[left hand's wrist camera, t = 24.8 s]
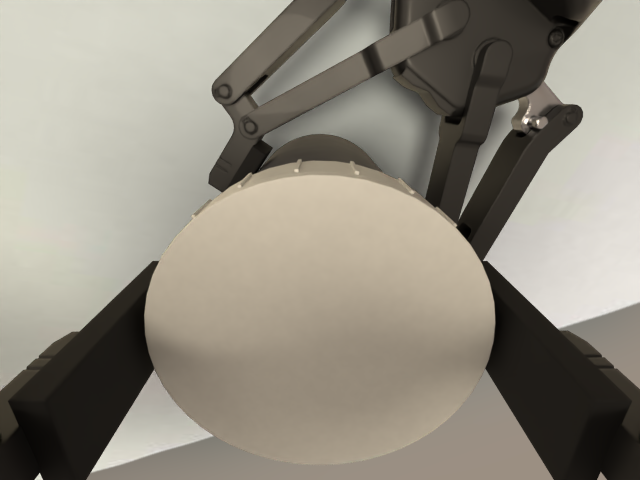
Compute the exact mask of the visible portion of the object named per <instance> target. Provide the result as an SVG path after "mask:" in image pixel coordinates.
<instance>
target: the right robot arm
mask: <svg viewBox="0 0 640 480" xmlns="http://www.w3.org/2000/svg"><path fill="white" fill-rule="evenodd" d="M346 1H347V0H293V1H292V2H291V4H290V5H289V6H288V7H287V8H286V9H285V10H284V11H283V12H282V13H281V14H280V15H279V16H278V17H277V18H276V19H275V20H274V21H273V22H272V23H271V24H270V25H269V26H268V27H267V28H266V29H265V30H264V31H263V32H262V33H261V34H260V35H259V36H258V37H257V38H256V39H255V40H254V41H253V42H252V43H251V44H250V45H249V46H248V48H247V49H246V50H245V51H244V52H243V53H242V54H241V55H240V56H239V57H238V58H237V59H236V60H235V61H234V62H233V63H232V64H231V65H230V66H229V67H228V68H227V69H226V70H225V71H224V72H223V73H222V74H221V75H220V76H219V77H218V78H217V79H216V80H215V82H214V83H213V85H212V94H213V97H214V99H215V100H216V101H217V102H218V103H220V104H222V106H223V107H224V108H225V110H226V111H227V112H228V114H229V115H230V117H231V118H232V120H233V123H234V132H233V134H232V136H231V138H230V140H229V142H228V143H227V145H226V147H225V148H224V150H223V152H222V153H221V155H220V157H219V159H218V160H217V162H216V164H215V165H214V167H213V169H212V170H211V172H210V175H209V183H208V184H210V185H212V186H213V187H215V188H216V189H218V190H219V191H221V192H222V193H223V192H224V191H225V190H227V189H228V188H229V187H231V186H232V185H234V184H236V183H238V182H240V181H241V180H243V179H244V178H245V177H246V176H247V175H248V174H249V173H252V175H253V174H256V173H257V172H258V170H259V169H260V167H261V166H262V164H263V162H264V161H265V159H266V158H267V156H268V155H269V153H270V151H271V150H272V147H271V146H269V145H268V144H267V143H265V142H264V141H262V138H263V136H264V135H265V134H266V133H268V132H270V131H272V130H274V129H276V128H278V127H280V126H281V125H283V124H285V123H287V122H289V121H291V120H293V119H295V118H296V117H298V116H300V115H302V114H304V113H306V112H308V111H310V110H311V109H313V108H315V107H317V106H319V105H321V104H323V103H325V102H327V101H328V100H330V99H332V98H334V97H336V96H338V95H340V94H342V93H343V92H345V91H347V90H349V89H351V88H353V87H355V86H357V85H358V84H360V83H362V82H364V81H366V80H368V79H370V78H372V77H374V76H375V75H377V74H379V73H381V72H383V71H385V70H387V69H389V68H391V71H392V73H393V75H394V77H393V79H395V80H396V81H397V82H398V83H400V84H401V85H402V86H403V87H405V88H407V89H410V90H412V91H415V92H417V93H418V94H419V95H420V97H421V98H422V100H423V101H424V103H425V104H426V106H427V107H429V108H430V109H431V110H432V111H434V112H435V113H436V114H437V115H442V119H441V123H440V127H439V137H440V138H439V144H438V148H437V152H436V156H435V161H434V165H433V169H432V173H431V177H430V181H429V186H428V190H427V194H426V198H425V199H426V200H427V201H428V202H429V203H430V204H431V205H432V206H433V207H435V208H436V207H438V208H439V209H440V210H441V211H442V212H444V213H445V214H446V215H447V216H448V217H449V218H450V219H451V220H452V221H453V222H455V223H456V224H457V226H456V228H457V230H458V231H459V232H460V233H461V234H462V235H463V237H464V238H465V239H466V240H467V241H468V242H469V244H470V245H471V246H472V248H473V250H474V251H475V253H476V255H477V256H478V258H479V259H480V261H483V260H484V258H485V256H486V255H487V253H488V251H489V250H490V248H491V246H492V245H493V243H494V242H495V240H496V238H497V237H498V235H499V233H500V232H501V230H502V228H503V227H504V225H505V223H506V222H507V220H508V219H509V217H510V215H511V214H512V212H513V210H514V209H515V207H516V205H517V204H518V202H519V201H520V199H521V197H522V196H523V194H524V192H525V191H526V189H527V187H528V186H529V184H530V182H531V181H532V179H533V178H534V176H535V174H536V173H537V171H538V169H539V168H540V166H541V164H542V163H543V161H544V160H545V158H546V156H547V155H548V153H549V152H550V151H551V150H552V149H553V148H555V147H556V146H557V145H558V144H559V143H560V142H561V141H562V140H563V139H564V138H565V137H566V136H568V135H569V134H570V133H571V132H572V131H573V130H574V129H575V128H576V127H577V126H578V125H579V124H580V122H581V120H582V118H583V111H582V109H581V107H579V106H578V105H573V104H563V103H561V101H560V100H559V99H558V98H557V97H556V95H555V94H554V93H553V92H552V91H551V89H550V88H549V87H548V86H547V85H546V84H545V82H544V80H545V78H546V75H547V72H548V69H549V66H550V63H551V61H552V59H553V57H554V55H555V53H556V52H557V50H558V49H559V48H560V47H561V46H562V45H563V44H564V43H565V42H566V41H567V40H568V39H569V38H570V37H571V36H572V35H573V33H574V32H575V31H576V30H577V29H578V28H579V27H580V26H581V25H582V24H583V23H584V21H585V20H586V19H587V18H588V17H589V16H590V14H591V13H592V12H593V11H594V10H595V8H596V7H597V6H598V5H599V4H600V3H601V1H602V0H391V17H390V34H389V35H388V36H386V37H384V38H382V39H380V40H379V41H377V42H375V43H373V44H371V45H370V46H368V47H367V48H365V49H363V50H362V51H360V52H358V53H356V54H355V55H353V56H351V57H349V58H347V59H345V60H344V61H342V62H340V63H338V64H336V65H335V66H333V67H331V68H329V69H327V70H325V71H324V72H322V73H320V74H318V75H316V76H314V77H313V78H311V79H309V80H307V81H305V82H304V83H302V84H300V85H298V86H296V87H294V88H293V89H291V90H289V91H287V92H285V93H284V94H282V95H280V96H278V97H276V98H274V99H273V100H271V101H269V102H267V103H265V104H263V105H262V106H260V107H258V105H257V104H256V103H255V101H254V100H253V98H252V97H251V95H252V94H253V93H254V92H255V91H256V90H257V89H258V88H259V87H260V86H261V85H262V84H263V83H264V82H265V81H266V80H267V79H268V78H269V77H270V76H271V75H272V74H273V73H274V72H275V71H276V70H278V69H279V68H280V67H281V66H282V65H283V64H284V63H285V62H286V61H287V60H288V59H289V58H290V57H291V56H292V55H293V54H294V53H295V52H296V51H297V50H298V49H299V48H300V47H301V46H302V45H303V44H304V43H305V42H306V41H307V40H308V39H309V38H310V37H311V36H312V35H313V34H315V33H316V32H317V31H318V30H319V29H320V28H321V27H322V26H323V25H324V24H325V23H326V22H327V21H328V20H329V19H330V18H331V17H332V16H333V15H334V14H335V13H336V12H337V11H338V10H339V9H340V8H341V7H342V6H343V4H344V3H345V2H346ZM517 99H518V101H519V109H518V111H517V113H516V115H515V116H514V117H513V118H512V120H511V123H512V126H513V129H512V130H511V131H510V132H509V134H508V135H507V136H506V138H505V139H504V140H503V142H502V144H501V145H500V147H499V148H498V150H497V152H496V154H495V156H494V157H493V159H492V161H491V163H490V165H489V167H488V168H487V170H486V172H485V174H484V176H483V177H482V179H481V181H480V183H479V185H478V186H477V188H476V190H475V192H474V194H473V195H472V197H471V199H470V201H469V203H468V204H467V206H466V208H465V210H464V212H463V213H462V215H461V217H460V219H459V216H460V213H461V209H462V206H463V202H464V199H465V195H466V192H467V188H468V185H469V181H470V178H471V174H472V171H473V167H474V163H475V160H476V156H477V153H478V150H479V147H480V146H481V145H482V144H483V143H484V141H485V140H486V138H487V135H488V132H489V128H490V125H491V121H492V118H493V114H494V111H495V107H497V106H499V105H502V104H505V103H508V102H511V101H514V100H517ZM458 220H459V221H458Z"/></svg>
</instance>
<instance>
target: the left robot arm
mask: <svg viewBox="0 0 640 480" xmlns="http://www.w3.org/2000/svg"><path fill="white" fill-rule="evenodd" d="M158 263H159V261H152V262H151V263H150V264H149V265H148V266H147V267H146V268H145V269H144V270H143V271H142V272H141V273H140V274H139V275H138V276H137V277H136V278H135V279H134V280H133V281H132V282H131V283H130V284H129V285H128V286H127V287H125V288H124V289H123V290H122V291H121V292H120V293H119V294H118V295H117V296H116V297H115V298H114V299H113V300H112V301H111V302H110V303H109V304H108V305H107V306H106V307H105V308H104V309H103V310H102V311H101V312H100V313H98V314H97V315H96V316H95V317H94V318H93V319H92V320H91V321H90V322H89V323H88V324H87V325H86V326H85V327H84V328H83V329H82V330H81V331H80V332H71V333H69V334H68V335H66V336H64V337H63V338H61V339H59V340H57V341H56V342H54V343H53V344H52V345H50V346H49V347H48V348H47V349H46V350H45V351H44V352H43V353H42V354H41V355H39V358H38V359H35V360H34V361H33V362H32V363H31V364H30V365H29V366H27V369H26V370H23V371H22V372H21V373H20V374H19V375H18V376H16V377H15V378H14V379H13V380H12V381H11V382H10V383H9V384H8V385H7V386H5V387H4V388H3V389H2V390H1V391H0V480H35V478H36V477H37V476H38V474H39V473H40V474H41V476H42V478H43V480H86V479H87V477H88V476H89V474H90V473H91V471H92V469H93V468H94V466H95V464H96V463H97V461H98V460H99V458H100V456H101V455H102V453H103V451H104V450H105V448H106V447H107V445H108V443H109V442H110V440H111V438H112V437H113V435H114V434H115V432H116V430H117V429H118V427H119V425H120V424H121V422H122V421H123V419H124V417H125V416H126V414H127V413H128V411H129V409H130V408H131V406H132V404H133V403H134V401H135V400H136V398H137V396H138V395H139V393H140V391H141V390H142V388H143V387H144V385H145V383H146V382H147V380H148V378H149V377H150V375H151V374H152V372H153V370H154V366H153V363H152V360H151V358H150V355H149V352H148V347H147V342H146V337H145V320H144V313H145V305H146V297H147V292H148V289H149V286H150V282H151V279H152V275H153V273H154V271H155V269H156V267H157V265H158ZM481 263H482V265H483V267H484V270H485V272H486V275H487V277H488V280H489V282H490V286H491V290H492V295H493V299H494V306H495V332H494V342H493V346H492V350H491V353H490V357H489V360H488V363H487V365H486V368H485V369H486V370H487V372H488V373H489V375H490V377H491V378H492V380H493V382H494V383H495V385H496V386H497V388H498V390H499V391H500V393H501V395H502V396H503V398H504V400H505V401H506V403H507V404H508V406H509V408H510V409H511V411H512V412H513V414H514V416H515V417H516V419H517V421H518V422H519V424H520V425H521V427H522V429H523V430H524V432H525V434H526V435H527V437H528V438H529V440H530V442H531V443H532V445H533V447H534V448H535V450H536V451H537V453H538V455H539V456H540V458H541V459H542V461H543V463H544V464H545V466H546V468H547V469H548V471H549V473H550V474H551V476H552V477H553V479H554V480H597V478H598V476H599V474H600V472H602V474H603V475H604V476H605V478H606V479H607V480H640V389H639V388H638V387H637V386H635V385H634V384H633V383H632V382H631V381H630V380H629V379H628V378H627V377H625V376H624V375H623V374H622V373H621V372H620V371H619V370H618V369H614V366H613V365H612V364H611V363H610V362H609V361H608V360H607V359H606V358H604V357H602V355H601V354H600V353H599V352H598V351H597V350H596V349H595V348H593V347H592V346H591V345H590V344H589V343H588V342H587V341H585V340H583V339H581V338H580V337H578V336H576V335H575V334H573V333H571V332H569V331H559V330H558V329H557V328H556V327H555V326H554V325H553V324H552V323H551V322H550V321H549V320H548V319H547V318H546V317H545V316H544V315H543V314H542V313H540V312H539V311H538V310H537V309H536V308H535V307H534V306H533V305H532V304H531V303H530V302H529V301H528V300H527V299H526V298H525V297H524V296H523V295H522V294H521V293H520V292H519V291H518V290H517V289H516V288H515V287H513V286H512V285H511V284H510V283H509V282H508V281H507V280H506V279H505V278H504V277H503V276H502V275H501V274H500V273H499V272H498V271H497V270H496V269H495V268H494V267H493V266H492V265H491V264H490V263H489V262H488V261H481Z"/></svg>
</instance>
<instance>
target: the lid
mask: <svg viewBox="0 0 640 480" xmlns="http://www.w3.org/2000/svg"><path fill="white" fill-rule="evenodd" d="M191 217H192V218H193V219H192V220H191V221H190V222H189V223H188V224H187V225H186V226H185V227H184V229H183V230H182V231H181V232H180V233H179V234H178V235H177V236H176V237H175V238H174V239H173V241H172V242H171V244H170V245H169V246H168V248H167V249H166V251H165V252H164V253H163V254H162V256H161V259H160V261H159V263H158V265H157V267H156V269H155V271H154V273H153V275H152V279H151V282H150V286H149V289H148V292H147V297H146V305H145V313H144V320H145V337H146V342H147V347H148V352H149V355H150V358H151V360H152V363H153V366H154V369H155V371H156V373H157V375H158V377H159V379H160V380H161V382H162V384H163V386H164V388H165V389H166V390H167V392H168V393H169V395H170V396H171V397H172V399H173V400H174V401H175V403H176V404H177V405H178V406H179V407H180V408H181V409H182V410H183V411H184V412H185V413H186V414H187V415H188V416H189V417H190V418H191V419H192V420H194V421H195V422H196V423H197V424H198V425H199V426H201V427H202V428H203V429H205V430H206V431H208V432H209V433H211V434H212V435H214V436H215V437H217V438H219V439H221V440H222V441H224V442H226V443H228V444H230V445H232V446H234V447H237V448H239V449H241V450H244V451H246V452H249V453H251V454H254V455H258V456H261V457H264V458H268V459H272V460H277V461H282V462H287V463H296V464H305V465H333V464H346V463H352V462H358V461H364V460H368V459H371V458H375V457H379V456H383V455H385V454H388V453H391V452H394V451H396V450H399V449H401V448H403V447H405V446H407V445H410V444H412V443H414V442H416V441H418V440H419V439H421V438H423V437H424V436H426V435H427V434H429V433H431V432H432V431H434V430H435V429H436V428H437V427H439V426H440V425H441V424H443V423H444V422H445V421H447V420H448V419H449V418H450V417H451V416H452V415H453V414H454V413H455V412H456V411H457V410H458V409H459V408H460V407H461V406H462V404H463V403H464V402H465V401H466V399H467V398H468V397H469V396H470V394H471V393H472V392H473V390H474V388H475V387H476V385H477V383H478V382H479V380H480V378H481V377H482V374H483V372H484V370H485V368H486V365H487V363H488V360H489V357H490V353H491V350H492V346H493V342H494V332H495V306H494V299H493V295H492V290H491V286H490V282H489V280H488V277H487V275H486V272H485V270H484V267H483V265H482V263H481V261H480V259H479V258H478V256H477V255H476V253H475V251H474V250H473V248H472V246H471V245H470V244H469V242H468V241H467V240H466V239H465V238H464V237H463V235H462V234H461V233H460V232H459V231H458V230H457V228H456V226H457V224H456V223H455V222H453V221H452V220H451V219H450V218H449V217H448V216H447V215H446V214H445V213H444V212H442V211H441V210H440V209H439V208H438V207H436V208H435V207H433V206H432V205H431V204H430V203H429V202H428V201H427V200H426V199H424V198H423V197H422V196H421V195H420V194H419V193H417V192H416V191H415V190H413V189H412V188H410V187H409V186H408V185H407V184H406V183H405V182H404V181H403V180H402V179H401V178H398V180H397V179H395V178H393V177H391V176H388V175H386V174H384V173H382V172H380V171H377V170H373V169H370V168H367V167H363V166H360V165H356V164H355V163H354V161H350V163H344V162H337V161H305V162H302V160H301V159H298V161H297V162H296V163H289V164H285V165H281V166H276V167H272V168H269V169H266V170H263V171H261V172H258V173H256V174H253V175H252V173H249V174H248V175H247V176H246V177H245V178H244V179H243V180H241V181H240V182H238V183H236V184H234V185H232V186H231V187H229V188H228V189H227V190H225V191H224V192H223V193H221V194H220V195H219V196H218V197H216V198H215V199H214V200H213V201H212V200H211V199H210V200H209V201H207V202H206V203H205V204H204V205H203V206H202V207H201V208H200V209H199V210H197V211H196V212H195V213H194V214H193V215H192V216H191Z"/></svg>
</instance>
